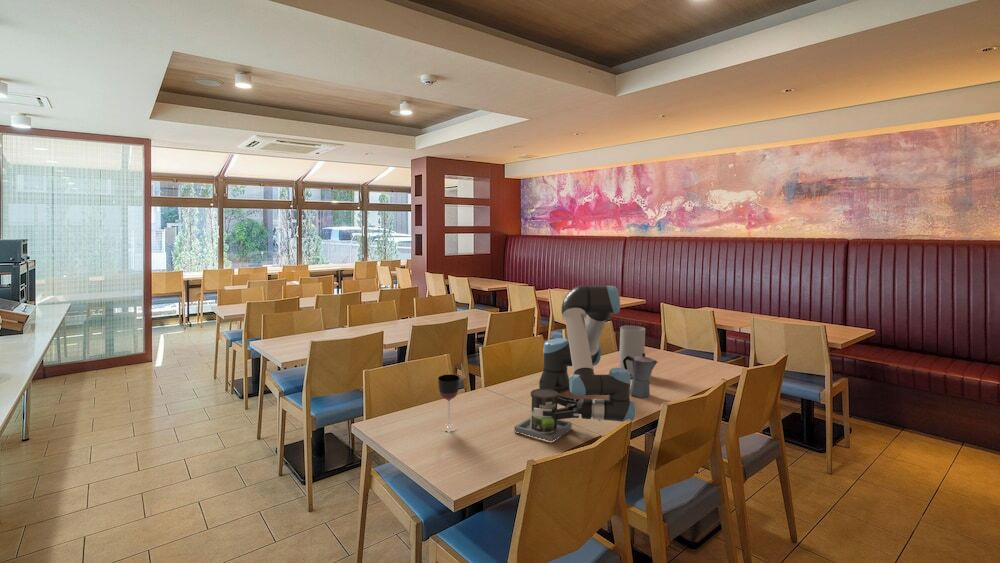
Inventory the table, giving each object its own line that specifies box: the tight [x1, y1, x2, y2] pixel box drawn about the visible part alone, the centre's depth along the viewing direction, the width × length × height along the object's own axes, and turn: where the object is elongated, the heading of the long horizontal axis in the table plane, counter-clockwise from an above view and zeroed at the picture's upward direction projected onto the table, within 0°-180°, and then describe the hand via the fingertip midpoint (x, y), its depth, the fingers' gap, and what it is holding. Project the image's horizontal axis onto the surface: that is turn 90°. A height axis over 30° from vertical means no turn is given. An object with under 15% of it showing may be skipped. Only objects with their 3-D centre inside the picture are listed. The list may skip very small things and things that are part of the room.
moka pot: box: [623, 352, 659, 399], centre depth 233 cm, size 10×15×20 cm, turn 78°
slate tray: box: [514, 416, 573, 441], centre depth 193 cm, size 16×16×2 cm
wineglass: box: [437, 374, 460, 428], centre depth 194 cm, size 8×9×20 cm
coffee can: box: [530, 388, 559, 434], centre depth 192 cm, size 10×10×14 cm
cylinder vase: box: [618, 325, 646, 379], centre depth 264 cm, size 12×12×25 cm
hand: (535, 405), depth 193 cm, fingers open, 13 cm apart
